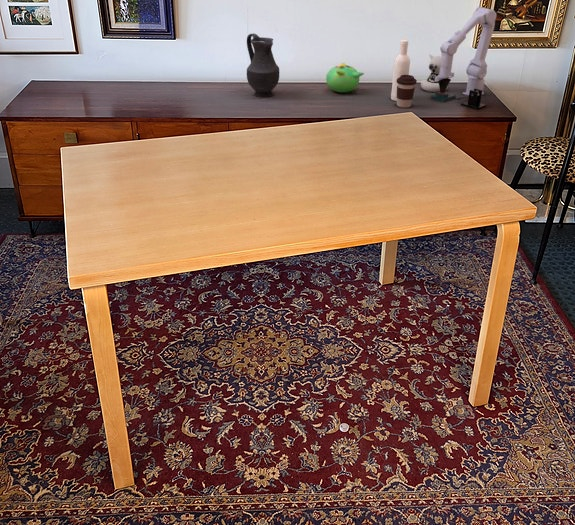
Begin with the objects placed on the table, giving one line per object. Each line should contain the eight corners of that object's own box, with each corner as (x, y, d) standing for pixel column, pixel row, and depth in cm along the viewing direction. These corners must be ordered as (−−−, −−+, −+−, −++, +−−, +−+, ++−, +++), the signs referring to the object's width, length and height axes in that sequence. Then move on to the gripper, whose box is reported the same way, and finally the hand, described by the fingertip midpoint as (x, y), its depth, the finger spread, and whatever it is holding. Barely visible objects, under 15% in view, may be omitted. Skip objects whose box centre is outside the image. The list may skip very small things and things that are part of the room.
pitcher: (260, 101, 328) (260, 41, 312) (236, 92, 341) (234, 34, 325) (285, 95, 337) (286, 36, 322) (261, 86, 351) (260, 29, 335)
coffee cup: (412, 103, 329) (416, 74, 321) (414, 109, 321) (417, 79, 313) (393, 102, 330) (396, 73, 322) (394, 108, 321) (397, 78, 314)
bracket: (460, 105, 327) (463, 89, 323) (469, 102, 332) (471, 86, 328) (477, 110, 321) (480, 94, 317) (486, 107, 326) (489, 90, 322)
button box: (442, 94, 343) (443, 88, 341) (455, 98, 338) (456, 91, 336) (430, 98, 336) (431, 92, 334) (443, 102, 331) (444, 95, 330)
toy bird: (351, 86, 354) (353, 59, 346) (364, 95, 340) (366, 67, 333) (321, 88, 349) (322, 61, 341) (332, 97, 335) (334, 69, 328)
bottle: (395, 95, 340) (401, 37, 324) (408, 98, 336) (415, 40, 320) (388, 99, 334) (394, 40, 318) (401, 102, 330) (408, 42, 315)
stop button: (440, 94, 337) (441, 91, 336) (446, 95, 335) (447, 92, 334) (437, 95, 335) (437, 92, 334) (442, 97, 333) (443, 93, 332)
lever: (457, 101, 329) (456, 97, 329) (463, 99, 333) (462, 95, 332) (475, 96, 321) (474, 91, 320) (481, 94, 324) (480, 89, 324)
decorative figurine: (415, 89, 350) (419, 52, 340) (428, 84, 360) (433, 48, 349) (439, 95, 342) (444, 57, 332) (452, 89, 352) (457, 52, 341)
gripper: (444, 70, 320) (440, 96, 328) (460, 65, 329) (456, 91, 336) (432, 67, 325) (429, 93, 332) (449, 62, 333) (445, 88, 341)
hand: (442, 92), depth 334 cm, fingers closed, pressing on stop button
